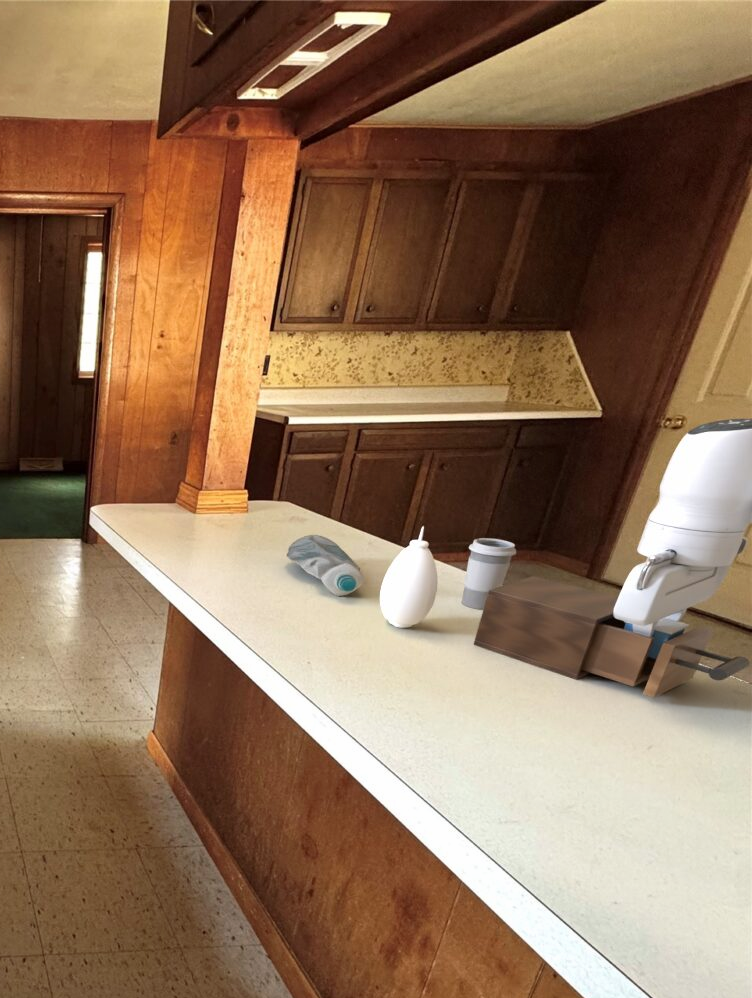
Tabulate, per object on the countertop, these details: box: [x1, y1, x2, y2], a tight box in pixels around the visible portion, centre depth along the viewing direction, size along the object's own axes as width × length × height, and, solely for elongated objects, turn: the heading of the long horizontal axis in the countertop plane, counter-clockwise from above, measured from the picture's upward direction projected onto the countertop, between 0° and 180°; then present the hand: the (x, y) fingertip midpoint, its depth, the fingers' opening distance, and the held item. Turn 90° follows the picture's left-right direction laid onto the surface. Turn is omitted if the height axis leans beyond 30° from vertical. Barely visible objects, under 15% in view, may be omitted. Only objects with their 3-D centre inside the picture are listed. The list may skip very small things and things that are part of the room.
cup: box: [461, 537, 517, 610], centre depth 120 cm, size 7×7×12 cm
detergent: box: [286, 534, 365, 597], centre depth 135 cm, size 13×7×25 cm
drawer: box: [582, 617, 750, 698], centre depth 93 cm, size 17×11×8 cm, turn 26°
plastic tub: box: [624, 618, 690, 659], centre depth 92 cm, size 5×5×4 cm
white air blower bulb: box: [379, 525, 439, 629], centre depth 112 cm, size 8×8×18 cm
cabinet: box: [473, 575, 619, 680], centre depth 102 cm, size 14×13×10 cm
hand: (650, 639), depth 93 cm, fingers closed on plastic tub, 4 cm apart
